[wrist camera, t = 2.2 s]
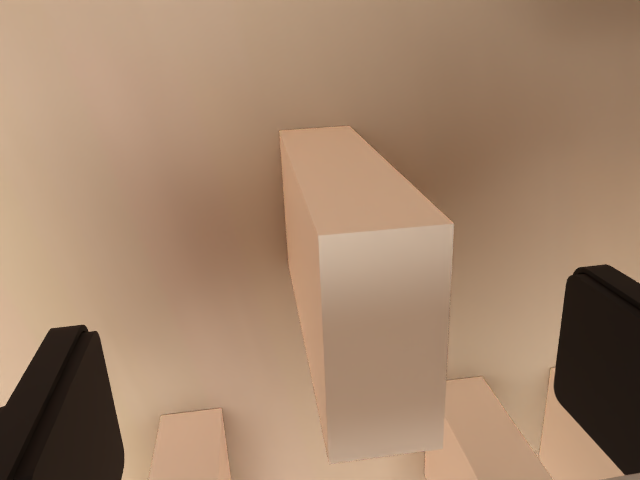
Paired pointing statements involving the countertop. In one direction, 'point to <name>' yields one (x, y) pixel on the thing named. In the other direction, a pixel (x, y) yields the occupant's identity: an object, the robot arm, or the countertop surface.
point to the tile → (367, 294)
